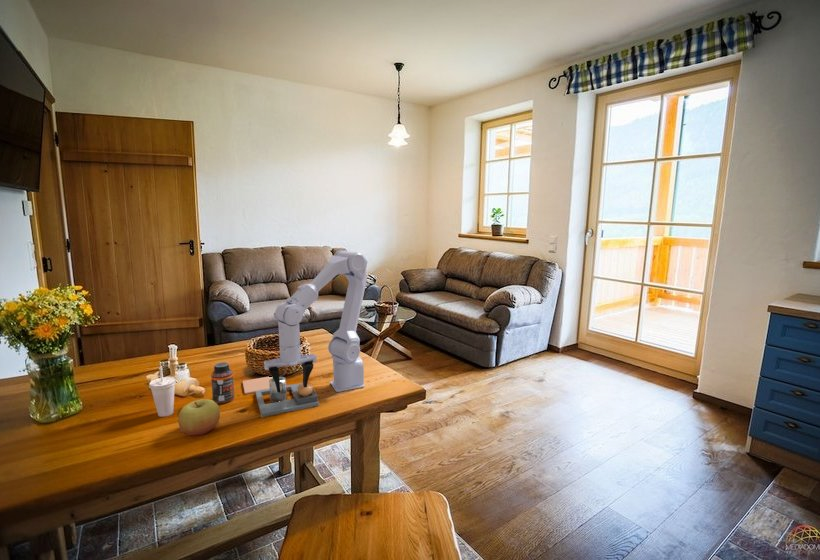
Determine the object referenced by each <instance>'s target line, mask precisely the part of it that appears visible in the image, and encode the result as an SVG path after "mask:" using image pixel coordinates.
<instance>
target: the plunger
mask: <svg viewBox="0 0 820 560" xmlns="http://www.w3.org/2000/svg"><path fill="white" fill-rule="evenodd" d="M301 383H302V384H300V385H298V387H297V388H298V394H299V395H302V397H304V396H309V395H310V394H312V393H313V389H314V387H313V384H312V383H310V382H308V383H307V387H304V385H303V382H301Z"/></svg>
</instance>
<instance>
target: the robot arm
mask: <svg viewBox="0 0 820 560" xmlns="http://www.w3.org/2000/svg"><path fill="white" fill-rule="evenodd" d="M367 265H368V260H367V258H366V257H365V256H364V254H363V253H362V252H357V251H356V252H355V251H347V250H343V249H342V250H337V251H335V253H334V254H333V255H332V256H330V258H329V260H328V261H327V264H326V265H325V266H324V267H323V268H322V269H321V270H320V272H318V274H317V275H316V276H315V277H314V278H313V279H312V280H311V281H310V283H303V284H301V285H299V286H298V287H297V290H296V291H295V292H294V293H293V294H292V295H291V296H290V297H287V299H286V301H285V302H282V303H279V305H277V306H276V308H275V312H273V317H274V318H275V320H276V321H277V323H278V326H277V327H278V339H279V340H278V341H279V342H278V343H279V357H278V358H274V359H270V360H265V361H263V367H264V370H265V371H268V372H269V374H270V376H272V377H273V379H274V381H275V384H276V388H277V392H280V384H279V377H280V371H279V368H282V367H283V368H284V367H292V366H297V365H302V366H301V368H302V383H303V385H304V387H307V383H309V382H308V381H309V378H310V375H311V373H312V371H313V369H314V363H317V355H316V354H315V353H312V354H301V333H300V331H301V330H300V323H301V322H302V320H303V318H304V314H305V313H306V310H307V309H309V307H311V305H312V304H313V303H315V301H316V300H317V299H318V298H319V292H320V291H321V290H322V289H323V288H325V286H326V285H327V284H329V283H330V282H331V281H332V280H333V279H334V278H335V277H336V276H337V275H344V276H345V278H346V279H347V281H348V284H347V291H346V293H345V294H346V295H345V299H344V304H343V308H342V314H341V319H340V323H339V328H338V329H337V330H336V331H334V332H333V334H332V337H331V340H330V341H329V342H328V343H329V344H328V348H327V349H328V353H329V354H330V355H331V358H332V366H333V369H332V371H333V374H332V375H333V380H331V381H329V383H330V385H331V386H332V388H333V390H335V392H336V393H339V392H340V393H341V392H346V391H349V390H350V391H351V390H354V389H355V390H357V389H361V388H364V387H365V380H364V378H365V377H364V373H365V371H364V363H363V360H362V358H361V356H360V354H361V348H360V342H361V339H360V337H359V335H358V333H357V328H358V323H359V319H360V313H361V309H362V305H363V301H364V294H365V291H366V286H367V281H368V280H367V279H368V277H367Z"/></svg>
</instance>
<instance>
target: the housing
mask: <svg viewBox="0 0 820 560" xmlns="http://www.w3.org/2000/svg"><path fill="white" fill-rule="evenodd" d="M302 383H303V382H299V383H294V384H286V392H287V391H291V393H292V396H293V398H291V399H285V400H284V401H280V402H272V403H271V402H270V403H265V401H264V398H263V396H264V394H265V395H270V394H269V393H270V389H265V390H259V391H255V393H254V394H255V398H256V402H257V406H258V409H259V412H260V416H261V418H265V416H266V417H269V415H271V416H275V415H274V414H276V415H280V414H279V413H281V414H284V413H283V412H286V413H289V412H290V411H291V412H294V411H299V409H300V410H303V409H310V408H314V407H313V406H315V407H319V406H320V402H319V396H318V393H317V392H316V390H315V389H314V388H313V393H312V394H310V395H309V396H304V397H302V395H299V394H298V388H297V387H298V385H300V384H302ZM309 407H310V408H309Z"/></svg>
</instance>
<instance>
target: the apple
mask: <svg viewBox="0 0 820 560" xmlns="http://www.w3.org/2000/svg"><path fill="white" fill-rule="evenodd" d="M220 420H221V410H220V406H219V404H218V403H215V402H214V401H213V399H210V398H207V399H205V398H204V399H203V398H202V399H196V400H194V401H191V402H189V403H187V404H185V405H183V407H182V408H181V410H180V411H179V413H178V416H177V422H178V426H179V429H180V430H181V431H182V432H183V433H185V434H187V435H189V436H201V435H204V434H207V433H210V432H211V431H212V430H213V429H214V428H215V427H216V426H217V425H218V423H219V422H220Z"/></svg>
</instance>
